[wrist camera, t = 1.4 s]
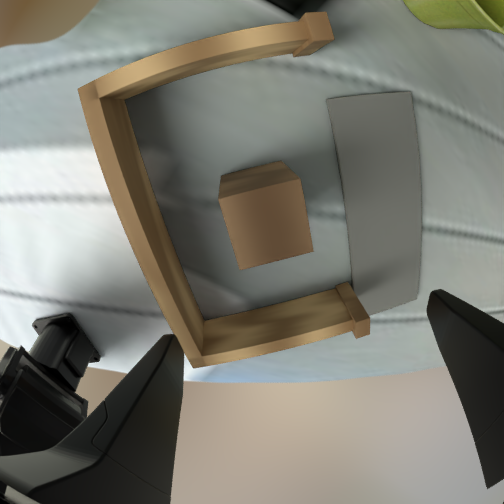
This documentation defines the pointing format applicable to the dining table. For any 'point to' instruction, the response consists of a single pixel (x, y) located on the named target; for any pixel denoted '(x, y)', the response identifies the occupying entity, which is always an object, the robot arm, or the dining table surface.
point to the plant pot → (460, 13)
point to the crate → (151, 221)
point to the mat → (380, 195)
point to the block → (265, 214)
